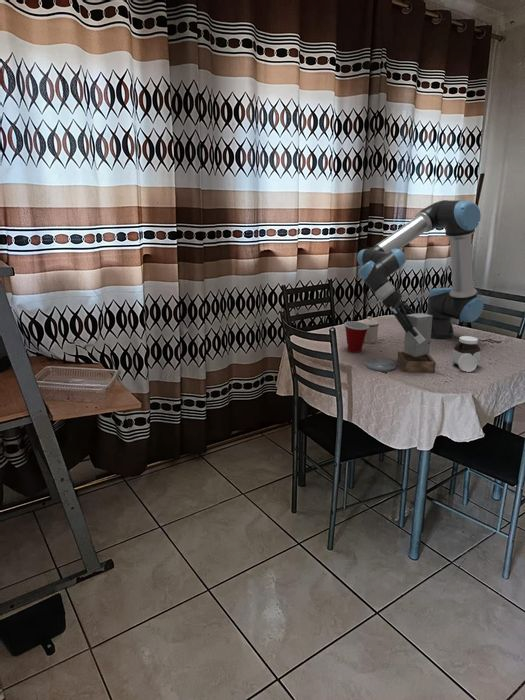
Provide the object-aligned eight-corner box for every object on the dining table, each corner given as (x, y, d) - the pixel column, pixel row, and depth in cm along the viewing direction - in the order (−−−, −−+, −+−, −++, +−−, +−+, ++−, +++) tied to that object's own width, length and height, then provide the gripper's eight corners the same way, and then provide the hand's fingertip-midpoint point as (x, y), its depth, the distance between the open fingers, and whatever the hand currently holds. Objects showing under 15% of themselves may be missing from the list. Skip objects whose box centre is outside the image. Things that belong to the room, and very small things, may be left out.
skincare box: (414, 357, 191) (418, 318, 186) (402, 352, 197) (404, 314, 192) (430, 353, 195) (434, 315, 190) (417, 348, 201) (421, 311, 196)
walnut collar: (426, 361, 203) (427, 352, 202) (434, 372, 191) (435, 362, 190) (397, 360, 204) (398, 351, 203) (403, 371, 192) (404, 361, 191)
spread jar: (468, 361, 203) (472, 334, 200) (488, 370, 193) (492, 342, 190) (444, 364, 200) (447, 337, 196) (463, 374, 190) (467, 345, 186)
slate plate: (392, 361, 203) (393, 358, 203) (398, 371, 192) (398, 368, 191) (363, 360, 204) (363, 358, 203) (367, 371, 192) (367, 368, 192)
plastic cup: (362, 355, 210) (364, 328, 206) (338, 351, 215) (340, 325, 212) (371, 349, 219) (373, 323, 215) (348, 345, 224) (350, 319, 220)
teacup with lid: (377, 338, 234) (379, 315, 231) (377, 344, 226) (379, 319, 222) (351, 337, 236) (353, 313, 233) (351, 342, 228) (352, 318, 224)
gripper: (389, 295, 206) (423, 336, 204) (373, 307, 187) (411, 352, 185) (402, 284, 202) (438, 325, 200) (388, 294, 183) (427, 340, 181)
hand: (425, 338), depth 192 cm, fingers closed on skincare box, 10 cm apart
